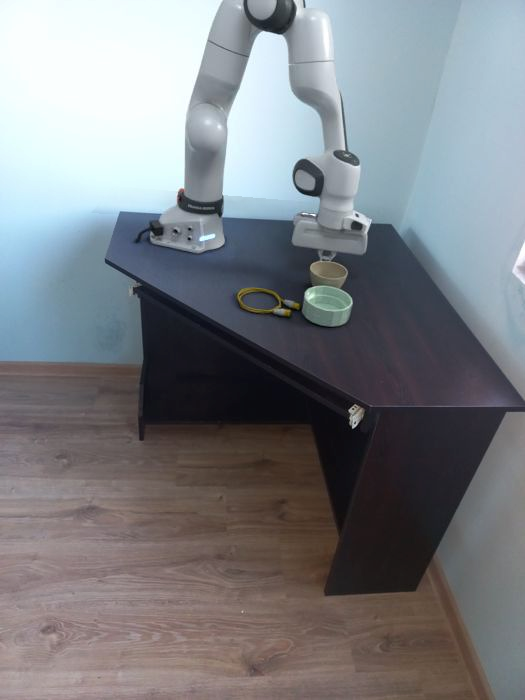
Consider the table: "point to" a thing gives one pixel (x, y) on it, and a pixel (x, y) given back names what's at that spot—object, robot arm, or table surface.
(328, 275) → the flower pot
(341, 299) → the bowl
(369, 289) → the table surface
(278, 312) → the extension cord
